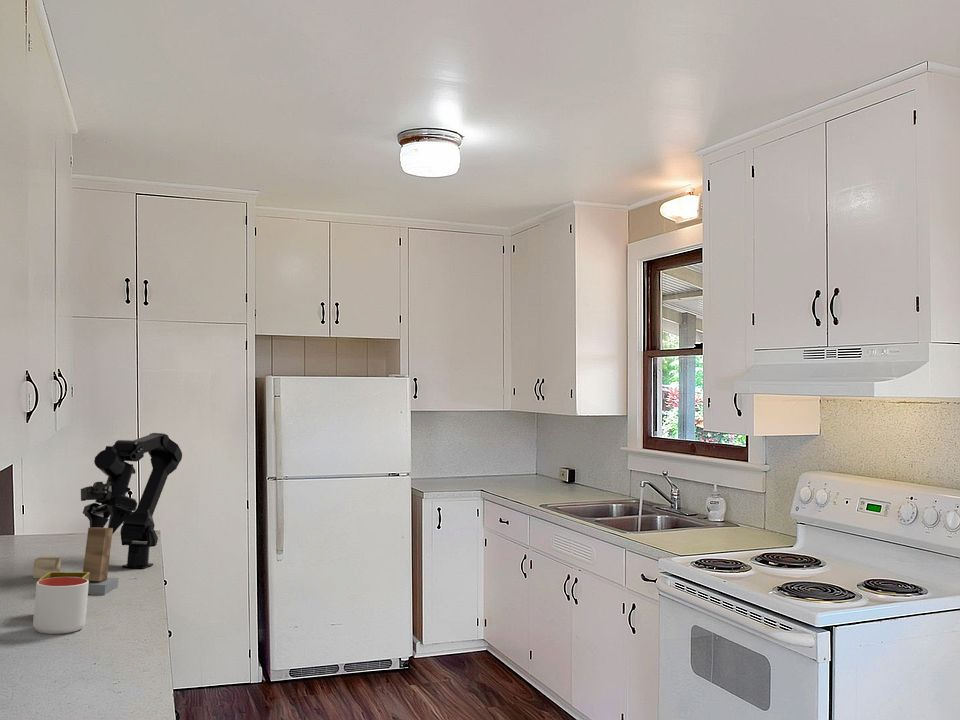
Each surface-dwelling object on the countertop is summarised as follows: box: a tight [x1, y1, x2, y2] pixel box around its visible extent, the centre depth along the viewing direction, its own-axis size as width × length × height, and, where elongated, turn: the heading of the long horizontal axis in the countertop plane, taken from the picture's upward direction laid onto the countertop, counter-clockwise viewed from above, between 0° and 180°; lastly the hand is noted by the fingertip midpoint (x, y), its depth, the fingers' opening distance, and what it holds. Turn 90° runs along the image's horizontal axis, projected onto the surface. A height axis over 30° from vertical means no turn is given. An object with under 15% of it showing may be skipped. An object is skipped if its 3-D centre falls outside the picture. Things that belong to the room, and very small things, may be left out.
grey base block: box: [88, 577, 119, 596], centre depth 219 cm, size 9×9×3 cm
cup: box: [32, 577, 89, 635], centre depth 183 cm, size 10×10×10 cm
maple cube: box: [32, 556, 62, 579], centre depth 233 cm, size 5×5×5 cm
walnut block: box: [82, 527, 114, 581], centre depth 220 cm, size 4×4×13 cm
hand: (100, 537), depth 231 cm, fingers open, 9 cm apart
